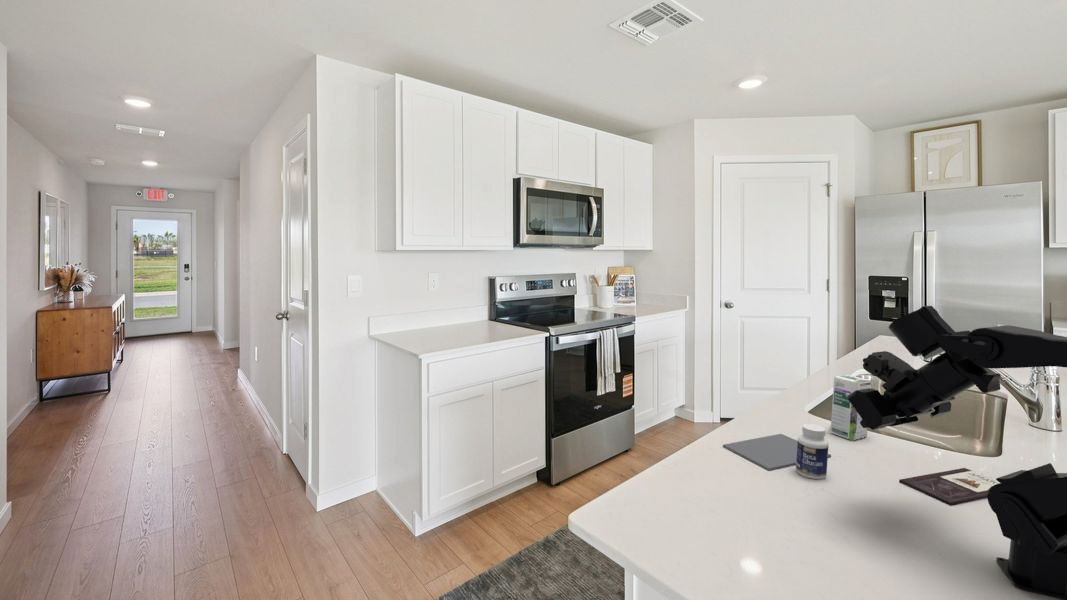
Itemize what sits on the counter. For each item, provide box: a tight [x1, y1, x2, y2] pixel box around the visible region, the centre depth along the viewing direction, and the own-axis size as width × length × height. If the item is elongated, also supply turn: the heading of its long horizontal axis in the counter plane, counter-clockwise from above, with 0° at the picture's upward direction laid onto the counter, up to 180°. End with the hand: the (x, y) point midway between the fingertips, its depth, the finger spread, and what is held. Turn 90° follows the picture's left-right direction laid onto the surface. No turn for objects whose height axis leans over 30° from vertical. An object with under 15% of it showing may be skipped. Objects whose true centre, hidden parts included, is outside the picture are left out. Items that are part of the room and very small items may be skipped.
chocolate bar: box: [898, 467, 1000, 507], centre depth 91 cm, size 9×1×18 cm
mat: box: [722, 433, 832, 472], centre depth 107 cm, size 13×18×1 cm
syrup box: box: [829, 374, 872, 442], centre depth 115 cm, size 6×6×14 cm
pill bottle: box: [795, 423, 830, 480], centre depth 96 cm, size 5×5×10 cm
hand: (862, 425), depth 86 cm, fingers closed
